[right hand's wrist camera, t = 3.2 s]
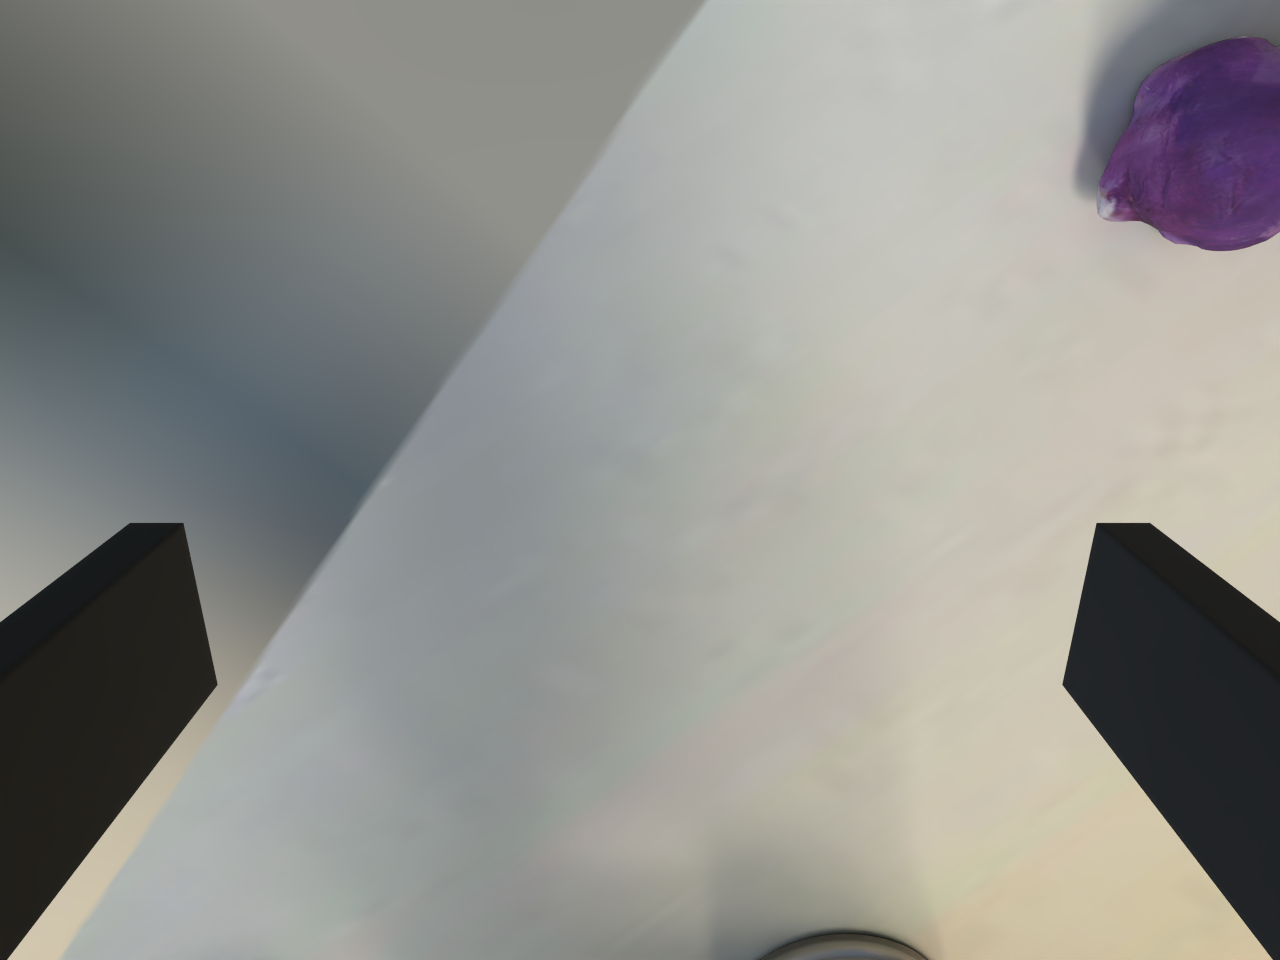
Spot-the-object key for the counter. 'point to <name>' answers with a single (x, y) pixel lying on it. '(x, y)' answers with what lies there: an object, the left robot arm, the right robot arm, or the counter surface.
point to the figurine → (1203, 149)
